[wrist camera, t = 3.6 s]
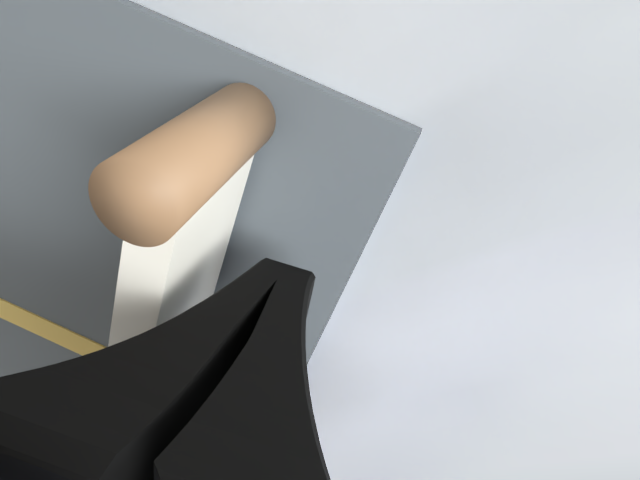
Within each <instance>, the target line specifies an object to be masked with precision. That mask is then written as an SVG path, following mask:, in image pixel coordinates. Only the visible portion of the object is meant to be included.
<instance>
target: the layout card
mask: <svg viewBox="0 0 640 480" xmlns="http://www.w3.org/2000/svg"><path fill="white" fill-rule="evenodd" d="M239 82H240V83H247V84H250V85H253V86H255V87H257V88H258V89H260V90H261V91H262V92H263V93H264V94H265V95H266V96H267V97H268V99H269V100H270V102H271V103H272V106H273V108H274V111H275V116H276V125H275V130H274V132H273V135H272V136H271V138H270V139H269V140H268V141H267V142H266V143H265V144H264V145H263V146H262V147H261V148H260V149H259V150H258V151H257V152H256V153H255V154H254V158H253V161H252V164H251V168H250V171H249V175H248V178H247V181H246V185H245V188H244V192H243V195H242V198H241V202H240V205H239V209H238V212H237V216H236V219H235V222H234V226H233V229H232V233H231V236H230V239H229V243H228V246H227V250H226V253H225V256H224V260H223V263H222V267H221V270H220V274H219V277H218V280H217V284H216V287H215V291H214V293H216V292H217V291H219V290H220V289H222V288H223V287H225V286H226V285H228V284H229V283H231V282H232V281H234V280H235V279H236V278H238V277H239V276H241V275H242V274H243V273H245V272H246V271H247V270H249V269H250V268H251V267H253V266H254V265H255V264H257V263H258V262H259V261H261V260H262V259H264V258H269V259H272V260H275V261H278V262H282V263H285V264H288V265H292V266H295V267H298V268H301V269H305V270H308V271H311V272H313V274H314V275H315V277H316V278H315V282H314V287H313V291H312V296H311V300H310V305H309V309H308V314H307V318H306V362H307V363H308V361H309V359H310V357H311V355H312V353H313V351H314V349H315V347H316V345H317V343H318V341H319V339H320V337H321V335H322V333H323V331H324V329H325V327H326V325H327V323H328V321H329V319H330V317H331V315H332V313H333V311H334V309H335V306H336V304H337V302H338V300H339V298H340V296H341V294H342V292H343V290H344V288H345V286H346V284H347V282H348V280H349V278H350V276H351V274H352V272H353V270H354V268H355V266H356V264H357V262H358V260H359V258H360V256H361V254H362V252H363V250H364V248H365V246H366V244H367V242H368V239H369V237H370V235H371V233H372V231H373V229H374V227H375V225H376V223H377V221H378V219H379V217H380V215H381V213H382V211H383V209H384V207H385V205H386V203H387V201H388V199H389V197H390V195H391V193H392V191H393V189H394V187H395V185H396V183H397V181H398V179H399V177H400V175H401V172H402V170H403V168H404V166H405V164H406V162H407V160H408V158H409V156H410V154H411V152H412V150H413V148H414V146H415V144H416V142H417V140H418V138H419V136H420V134H421V130H422V128H420V127H417V126H415V125H413V124H410V123H408V122H406V121H404V120H401V119H399V118H397V117H394V116H392V115H390V114H388V113H385V112H383V111H381V110H378V109H376V108H374V107H372V106H369V105H367V104H365V103H362V102H360V101H358V100H356V99H353V98H351V97H349V96H346V95H344V94H342V93H340V92H337V91H335V90H333V89H330V88H328V87H326V86H324V85H321V84H319V83H317V82H314V81H312V80H310V79H308V78H305V77H303V76H301V75H298V74H296V73H294V72H292V71H289V70H287V69H285V68H282V67H280V66H278V65H276V64H273V63H271V62H269V61H266V60H264V59H262V58H260V57H257V56H255V55H253V54H250V53H248V52H246V51H244V50H241V49H239V48H237V47H234V46H232V45H230V44H228V43H225V42H223V41H221V40H218V39H216V38H214V37H212V36H209V35H207V34H205V33H202V32H200V31H198V30H196V29H193V28H191V27H189V26H186V25H184V24H182V23H180V22H177V21H175V20H173V19H170V18H168V17H166V16H164V15H161V14H159V13H157V12H154V11H152V10H150V9H148V8H145V7H143V6H141V5H138V4H136V3H134V2H132V1H129V0H0V377H2V376H6V375H11V374H15V373H19V372H24V371H28V370H32V369H37V368H41V367H45V366H49V365H52V364H56V363H60V362H63V361H66V360H70V359H73V358H77V357H80V356H83V355H86V354H89V353H92V352H95V351H98V350H101V349H104V348H106V347H108V343H109V336H110V329H111V322H112V315H113V308H114V301H115V293H116V286H117V279H118V272H119V265H120V258H121V251H122V244H123V240H122V239H120V238H118V237H117V236H116V235H114V234H113V233H112V232H111V231H109V230H108V229H107V228H106V227H105V226H104V224H103V223H102V222H101V221H100V219H99V218H98V216H97V215H96V213H95V211H94V209H93V207H92V205H91V202H90V198H89V192H88V183H89V178H90V175H91V173H92V171H93V170H94V169H95V167H96V166H97V165H98V164H100V163H101V162H103V161H104V160H106V159H108V158H109V157H111V156H113V155H114V154H116V153H118V152H119V151H121V150H122V149H124V148H126V147H127V146H129V145H131V144H132V143H134V142H135V141H137V140H139V139H140V138H142V137H144V136H145V135H147V134H149V133H150V132H152V131H153V130H155V129H157V128H158V127H160V126H162V125H163V124H165V123H167V122H168V121H170V120H171V119H173V118H175V117H176V116H178V115H180V114H181V113H183V112H185V111H186V110H188V109H189V108H191V107H193V106H194V105H196V104H198V103H199V102H201V101H202V100H204V99H206V98H207V97H209V96H211V95H212V94H214V93H216V92H217V91H219V90H220V89H222V88H224V87H225V86H227V85H229V84H232V83H239Z"/></svg>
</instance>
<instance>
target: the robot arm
mask: <svg viewBox="0 0 640 480" xmlns="http://www.w3.org/2000/svg"><path fill="white" fill-rule="evenodd" d="M315 278H316V277H315V275H314V274H313V272H311V271H308V270H305V269H301V268H298V267H295V266H292V265H288V264H285V263H282V262H278V261H275V260H272V259H269V258H264V259H262V260H261V261H259V262H258V263H257V264H255V265H254V266H253V267H251V268H250V269H249V270H247V271H246V272H245V273H243V274H242V275H241V276H239V277H238V278H236V279H235V280H234V281H232V282H231V283H229V284H228V285H226V286H225V287H223V288H222V289H220V290H219V291H217V292H216V293H214V294H213V295H211V296H210V297H208V298H207V299H205V300H203V301H202V302H200V303H198V304H197V305H195V306H193V307H191V308H190V309H188V310H186V311H185V312H183V313H181V314H179V315H178V316H176V317H174V318H172V319H170V320H168V321H166V322H164V323H162V324H160V325H158V326H156V327H154V328H152V329H150V330H148V331H146V332H144V333H141V334H139V335H137V336H134V337H132V338H129V339H127V340H124V341H122V342H119V343H117V344H114V345H112V346H109V347H106V348H104V349H101V350H98V351H95V352H92V353H89V354H86V355H83V356H80V357H77V358H73V359H70V360H66V361H63V362H60V363H56V364H52V365H49V366H45V367H41V368H37V369H32V370H28V371H24V372H19V373H15V374H11V375H6V376H2V377H0V480H330V477H329V474H328V470H327V467H326V464H325V460H324V457H323V453H322V449H321V446H320V442H319V437H318V433H317V428H316V424H315V419H314V415H313V410H312V404H311V397H310V391H309V383H308V374H307V362H306V318H307V314H308V309H309V305H310V300H311V296H312V291H313V287H314V282H315Z"/></svg>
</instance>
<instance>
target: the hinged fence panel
mask: <svg viewBox="0 0 640 480" xmlns="http://www.w3.org/2000/svg"><path fill="white" fill-rule="evenodd" d="M275 125H276V116H275V111H274V108H273V106H272V103H271V102H270V100H269V99H268V97H267V96H266V95H265V94H264V93H263V92H262V91H261V90H260V89H258V88H257V87H255V86H253V85H250V84H247V83H240V82H239V83H232V84H229V85H227V86H225V87H224V88H222V89H220V90H219V91H217V92H216V93H214V94H212V95H211V96H209V97H207V98H206V99H204V100H202V101H201V102H199V103H198V104H196V105H194V106H193V107H191V108H189V109H188V110H186V111H185V112H183V113H181V114H180V115H178V116H176V117H175V118H173V119H171V120H170V121H168V122H167V123H165V124H163V125H162V126H160V127H158V128H157V129H155V130H153V131H152V132H150V133H149V134H147V135H145V136H144V137H142V138H140V139H139V140H137V141H135V142H134V143H132V144H131V145H129V146H127V147H126V148H124V149H122V150H121V151H119V152H118V153H116V154H114V155H113V156H111V157H109V158H108V159H106V160H104V161H103V162H101V163H100V164H98V165H97V166H96V167H95V169H94V170H93V171H92V173H91V175H90V178H89V183H88V192H89V198H90V202H91V205H92V207H93V209H94V211H95V213H96V215H97V216H98V218H99V219H100V221H101V222H102V223H103V224H104V226H105V227H106V228H107V229H108V230H109V231H111V232H112V233H113V234H114V235H116V236H117V237H118V238H120V239H122V240H123V244H122V251H121V258H120V265H119V272H118V279H117V286H116V293H115V301H114V308H113V315H112V322H111V329H110V336H109V343H108V347H109V346H112V345H114V344H117V343H119V342H122V341H124V340H127V339H129V338H132V337H134V336H137V335H139V334H141V333H144V332H146V331H148V330H150V329H152V328H154V327H156V326H158V325H160V324H162V323H164V322H166V321H168V320H170V319H172V318H174V317H176V316H178V315H179V314H181V313H183V312H185V311H186V310H188V309H190V308H191V307H193V306H195V305H197V304H198V303H200V302H202V301H203V300H205V299H207V298H208V297H210V296H211V295H213V294H214V291H215V287H216V284H217V280H218V277H219V274H220V270H221V267H222V263H223V260H224V256H225V253H226V250H227V246H228V243H229V239H230V236H231V233H232V229H233V226H234V222H235V219H236V216H237V212H238V209H239V205H240V202H241V198H242V195H243V192H244V188H245V185H246V181H247V178H248V175H249V171H250V168H251V164H252V161H253V158H254V154H255V153H256V152H257V151H258V150H259V149H260V148H261V147H262V146H263V145H264V144H265V143H266V142H267V141H268V140H269V139H270V138H271V136H272V135H273V132H274V130H275Z"/></svg>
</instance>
